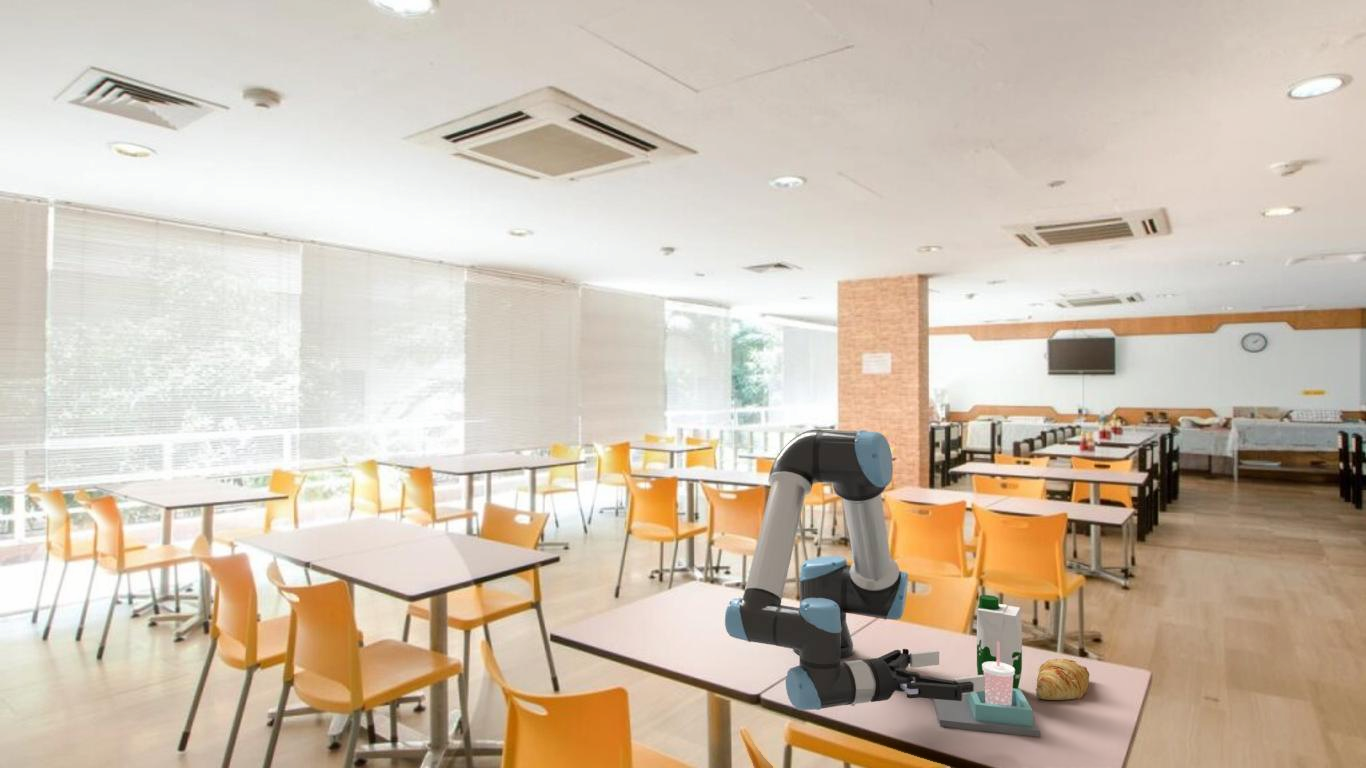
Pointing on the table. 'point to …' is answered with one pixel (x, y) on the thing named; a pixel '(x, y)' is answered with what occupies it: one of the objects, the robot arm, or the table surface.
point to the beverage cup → (998, 681)
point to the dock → (988, 714)
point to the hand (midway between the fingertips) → (960, 669)
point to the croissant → (1061, 680)
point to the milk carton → (999, 635)
